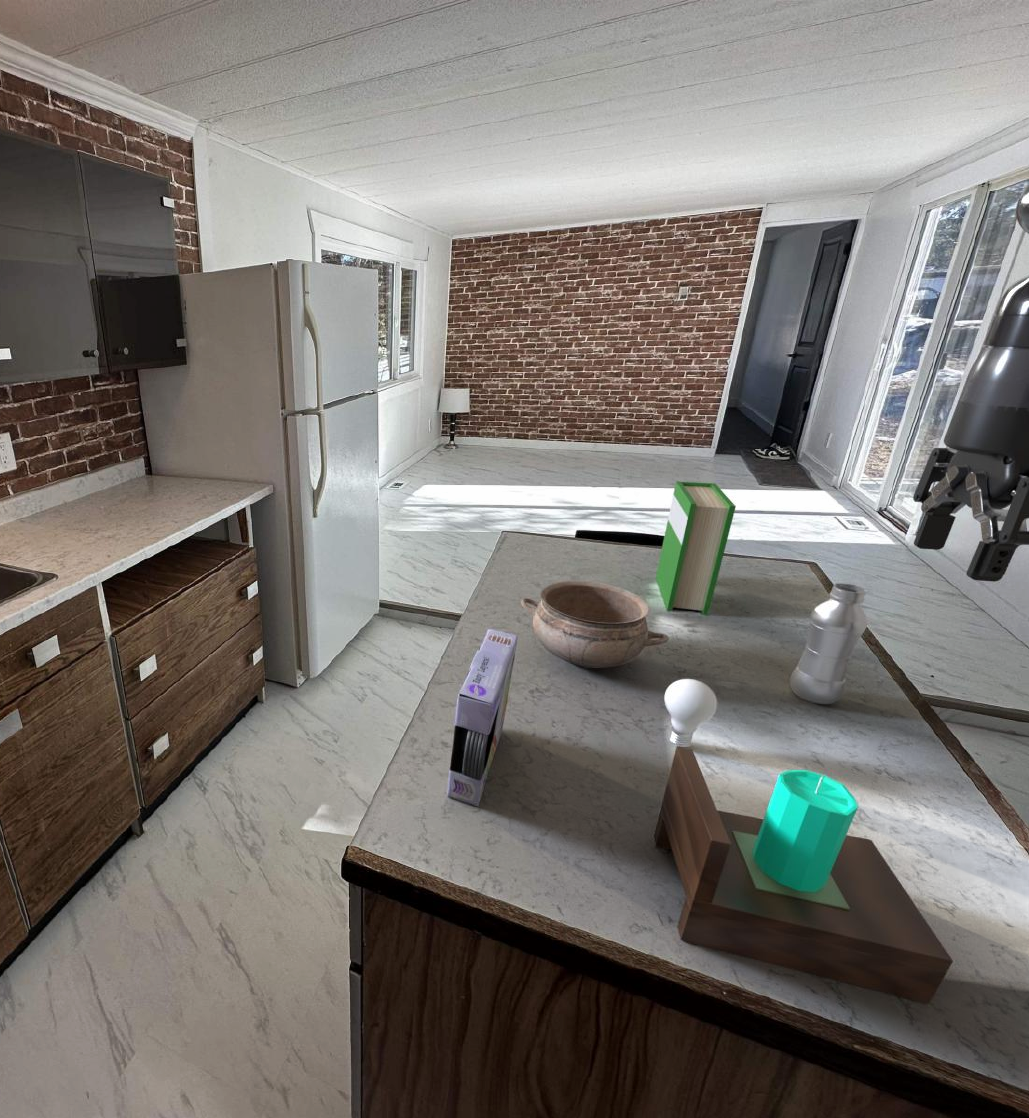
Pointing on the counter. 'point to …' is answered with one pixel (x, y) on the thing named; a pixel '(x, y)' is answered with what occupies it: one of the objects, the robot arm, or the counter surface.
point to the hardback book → (694, 545)
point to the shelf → (793, 900)
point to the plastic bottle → (830, 645)
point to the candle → (804, 829)
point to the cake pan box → (480, 716)
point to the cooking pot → (592, 623)
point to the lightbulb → (688, 708)
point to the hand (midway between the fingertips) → (952, 562)
